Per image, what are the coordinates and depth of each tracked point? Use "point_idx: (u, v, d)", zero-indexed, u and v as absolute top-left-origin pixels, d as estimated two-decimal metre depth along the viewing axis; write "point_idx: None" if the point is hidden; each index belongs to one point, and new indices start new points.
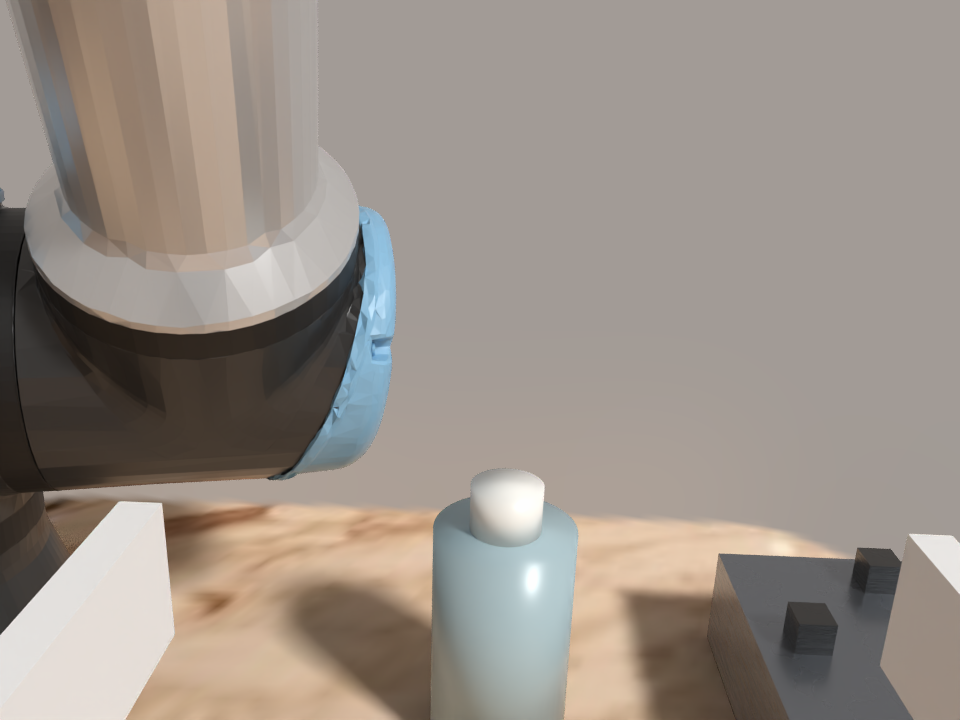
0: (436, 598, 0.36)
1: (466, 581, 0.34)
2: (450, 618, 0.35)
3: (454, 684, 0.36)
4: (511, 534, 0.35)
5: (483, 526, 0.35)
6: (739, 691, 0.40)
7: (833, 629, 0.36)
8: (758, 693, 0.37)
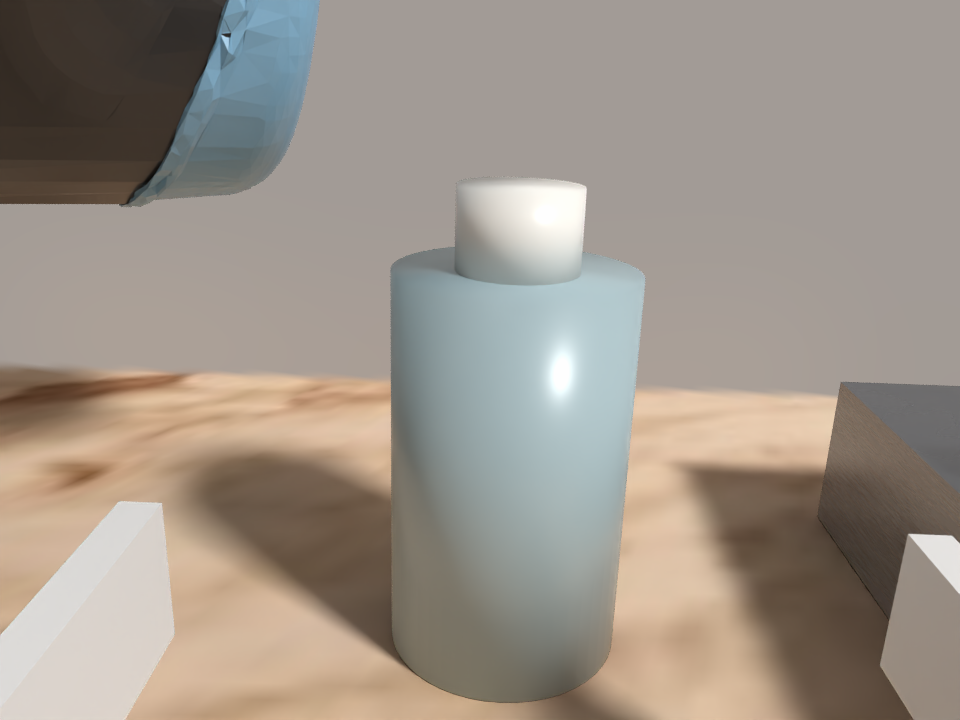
0: (396, 391, 0.20)
1: (448, 338, 0.19)
2: (420, 418, 0.20)
3: (428, 542, 0.20)
4: (529, 260, 0.19)
5: (478, 249, 0.19)
6: (898, 575, 0.24)
7: None
8: None
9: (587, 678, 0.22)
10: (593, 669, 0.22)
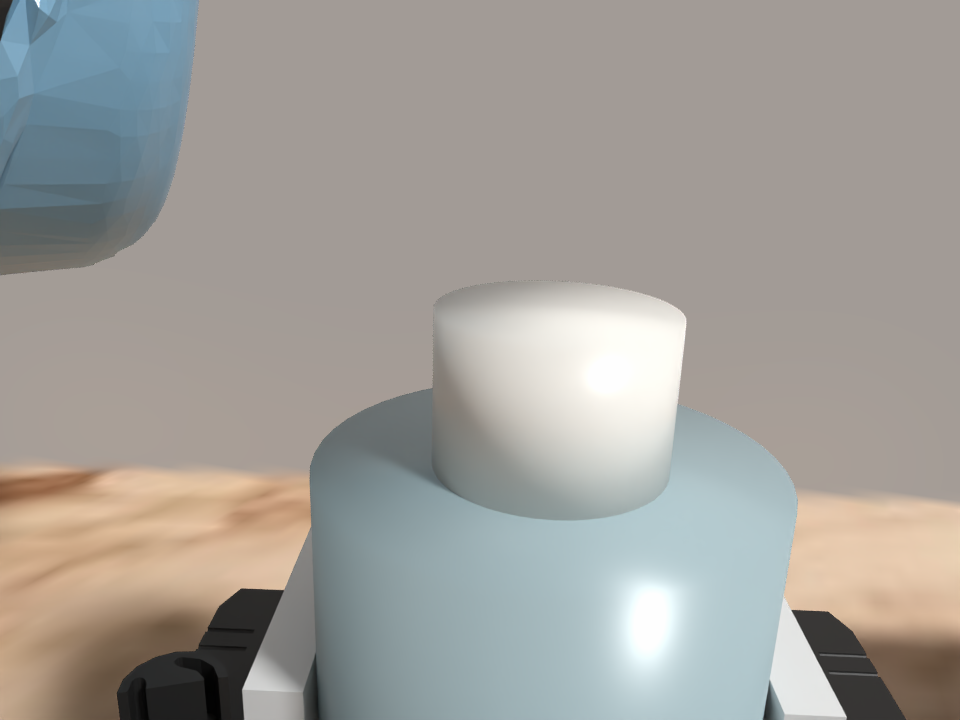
0: (321, 693, 0.11)
1: (412, 648, 0.09)
2: None
3: None
4: (578, 473, 0.10)
5: (476, 446, 0.10)
6: None
7: None
8: None
9: None
10: None
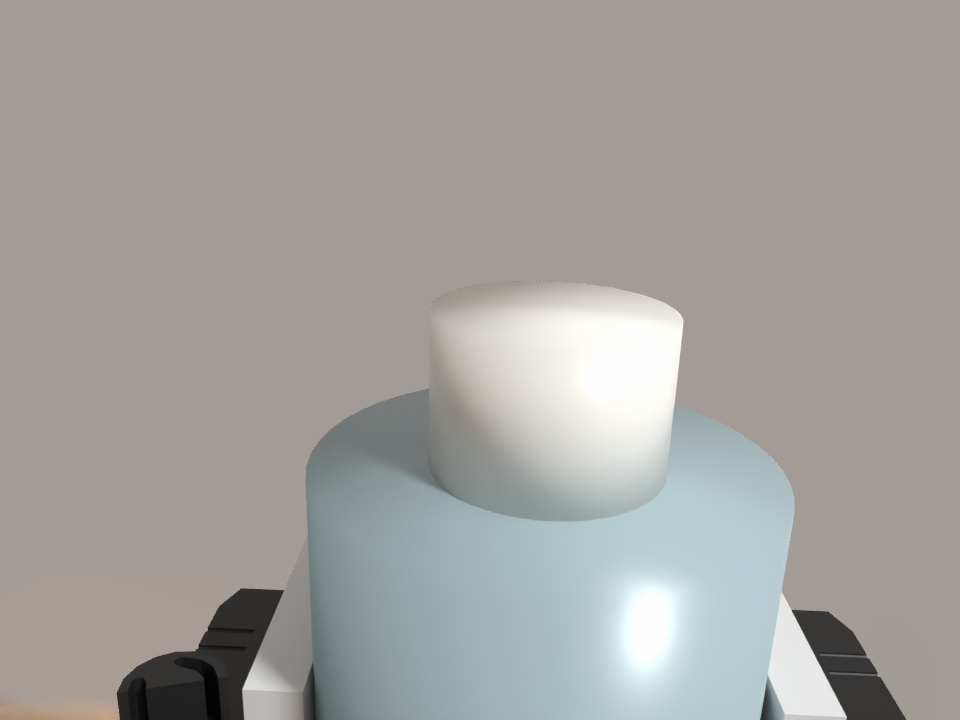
0: (318, 694, 0.11)
1: (407, 650, 0.09)
2: None
3: None
4: (574, 474, 0.09)
5: (472, 447, 0.10)
6: None
7: None
8: None
9: None
10: None
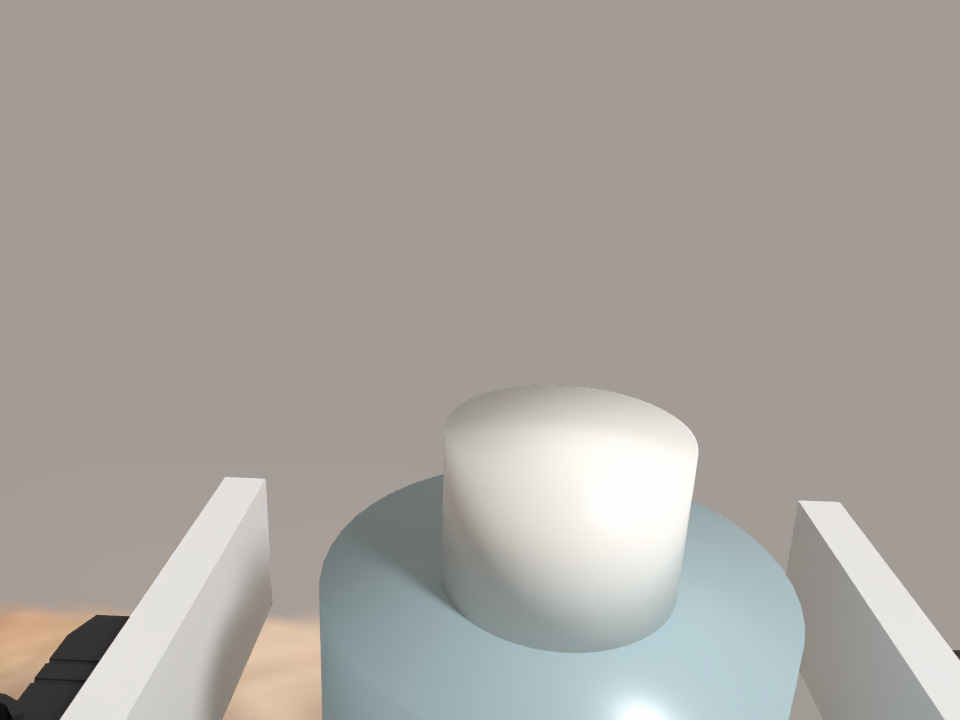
0: None
1: None
2: None
3: None
4: (588, 609, 0.10)
5: (487, 577, 0.10)
6: None
7: None
8: None
9: None
10: None
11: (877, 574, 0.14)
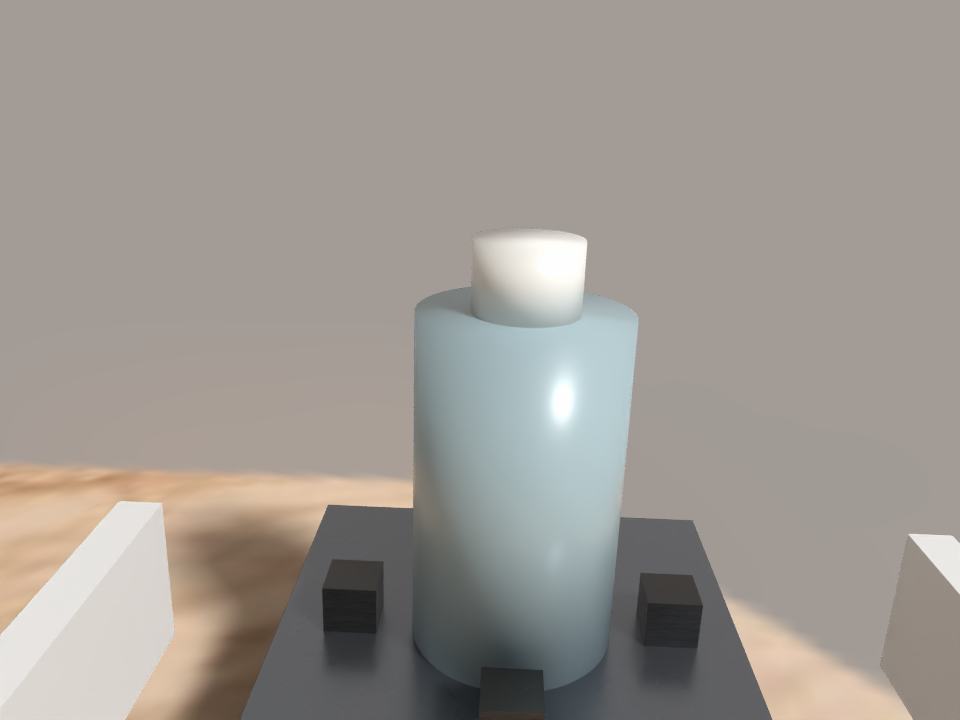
0: (419, 419, 0.23)
1: (466, 375, 0.21)
2: (441, 443, 0.22)
3: (447, 552, 0.23)
4: (537, 306, 0.22)
5: (492, 296, 0.22)
6: None
7: (369, 596, 0.26)
8: None
9: (587, 671, 0.25)
10: (592, 663, 0.25)
11: None
